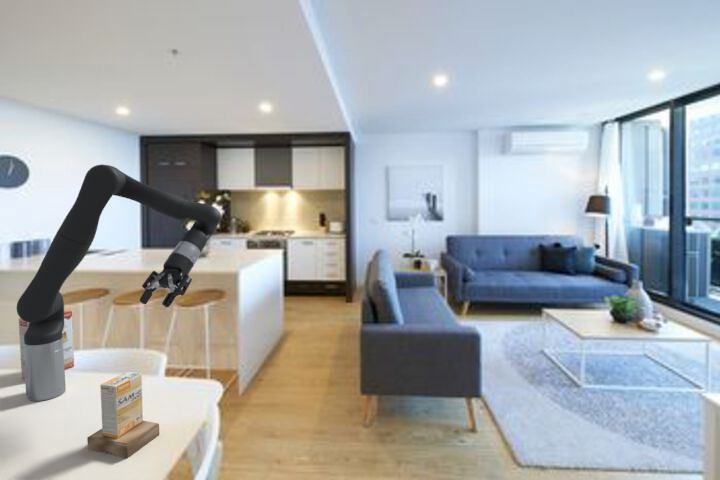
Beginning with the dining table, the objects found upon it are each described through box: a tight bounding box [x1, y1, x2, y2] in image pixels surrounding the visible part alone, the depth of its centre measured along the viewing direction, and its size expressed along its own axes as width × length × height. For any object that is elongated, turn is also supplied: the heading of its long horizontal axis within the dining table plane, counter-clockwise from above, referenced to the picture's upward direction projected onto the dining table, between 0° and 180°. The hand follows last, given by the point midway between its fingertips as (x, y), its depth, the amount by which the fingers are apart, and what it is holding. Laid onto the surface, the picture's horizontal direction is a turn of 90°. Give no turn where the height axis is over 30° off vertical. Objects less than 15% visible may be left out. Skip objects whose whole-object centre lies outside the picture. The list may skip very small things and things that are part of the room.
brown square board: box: [86, 420, 160, 459], centre depth 102 cm, size 12×10×3 cm
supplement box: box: [100, 371, 144, 438], centre depth 102 cm, size 8×5×13 cm, turn 164°
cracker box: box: [18, 309, 75, 380], centre depth 141 cm, size 14×6×21 cm, turn 158°
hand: (153, 304), depth 117 cm, fingers open, 8 cm apart
